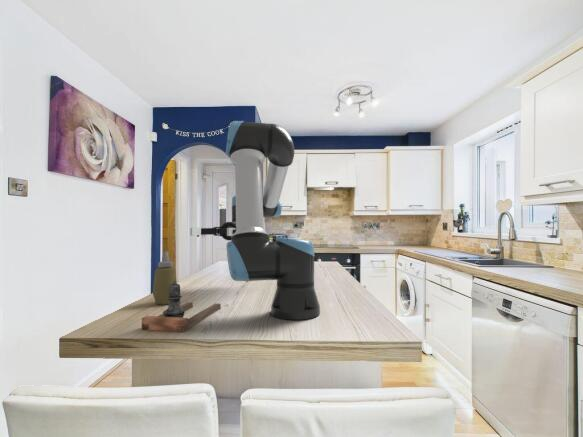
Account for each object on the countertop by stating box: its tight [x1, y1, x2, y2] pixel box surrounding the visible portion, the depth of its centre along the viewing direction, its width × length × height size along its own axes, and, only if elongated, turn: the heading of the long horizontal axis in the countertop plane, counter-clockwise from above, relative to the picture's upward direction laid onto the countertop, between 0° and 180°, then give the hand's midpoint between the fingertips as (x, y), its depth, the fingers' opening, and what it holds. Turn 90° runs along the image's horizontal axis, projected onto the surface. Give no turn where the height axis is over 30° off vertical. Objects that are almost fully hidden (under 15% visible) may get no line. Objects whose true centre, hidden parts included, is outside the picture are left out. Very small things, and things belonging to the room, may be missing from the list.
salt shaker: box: [162, 280, 187, 318], centre depth 83 cm, size 6×6×12 cm
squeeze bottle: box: [152, 251, 178, 306], centre depth 106 cm, size 8×8×18 cm
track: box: [141, 301, 222, 333], centre depth 89 cm, size 12×23×3 cm, turn 170°
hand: (209, 231), depth 105 cm, fingers open, 13 cm apart
